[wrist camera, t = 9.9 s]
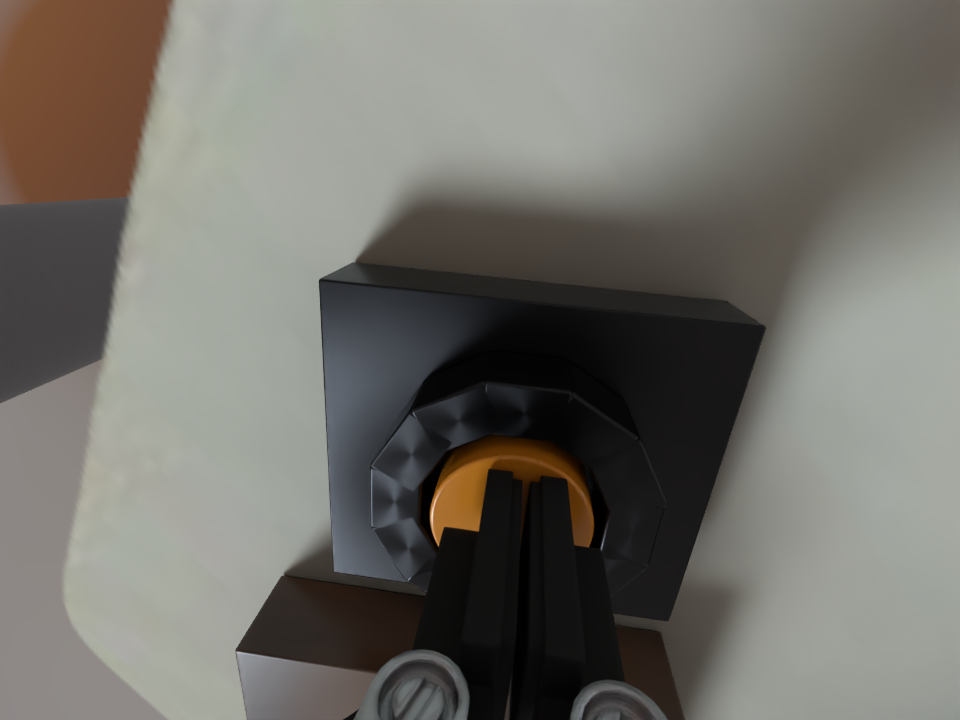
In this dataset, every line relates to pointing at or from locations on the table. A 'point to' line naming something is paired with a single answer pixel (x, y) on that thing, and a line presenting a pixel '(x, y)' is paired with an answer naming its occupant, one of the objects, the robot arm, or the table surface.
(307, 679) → the base
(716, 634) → the table surface
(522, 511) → the button
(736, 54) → the table surface
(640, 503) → the button block
